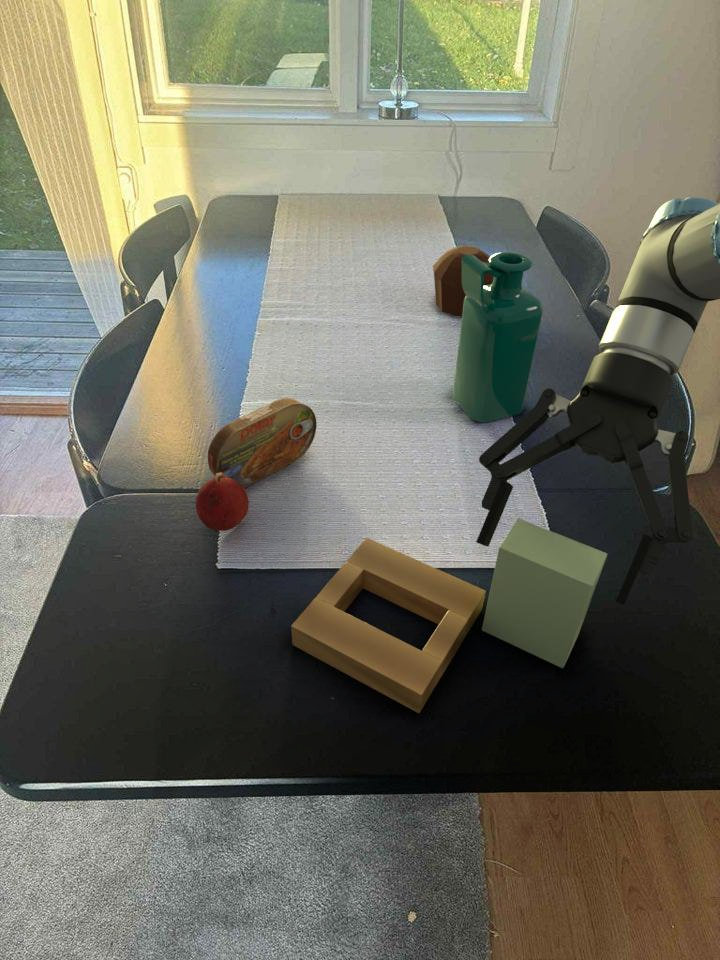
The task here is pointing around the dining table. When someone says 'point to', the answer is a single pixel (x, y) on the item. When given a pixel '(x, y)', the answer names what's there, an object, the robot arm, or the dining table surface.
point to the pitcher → (495, 337)
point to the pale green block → (541, 591)
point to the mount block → (375, 651)
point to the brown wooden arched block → (455, 278)
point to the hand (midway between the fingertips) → (548, 573)
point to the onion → (222, 503)
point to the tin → (262, 441)
